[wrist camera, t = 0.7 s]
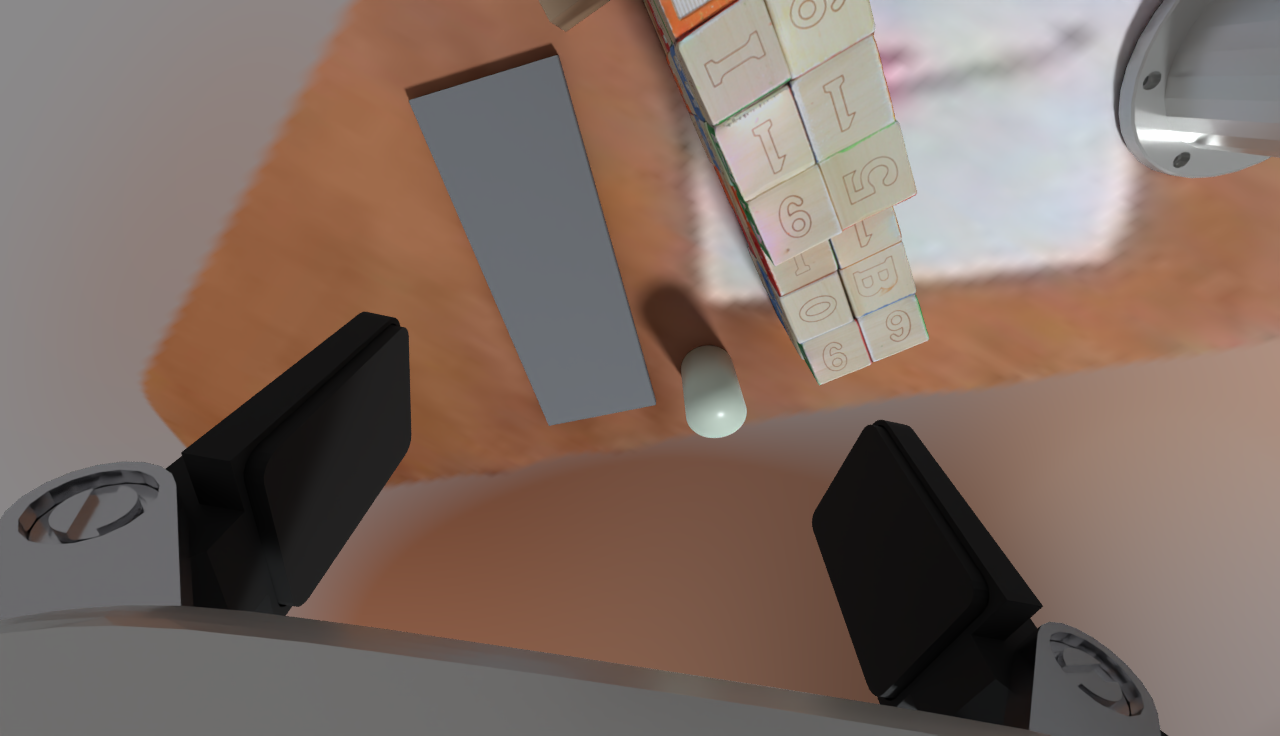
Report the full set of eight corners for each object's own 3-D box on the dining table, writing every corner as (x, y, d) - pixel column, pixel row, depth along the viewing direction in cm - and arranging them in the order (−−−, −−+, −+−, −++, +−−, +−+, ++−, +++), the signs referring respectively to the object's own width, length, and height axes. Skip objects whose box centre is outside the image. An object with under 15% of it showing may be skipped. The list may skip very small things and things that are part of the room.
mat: (558, 55, 27) (557, 55, 26) (655, 400, 39) (655, 404, 38) (412, 100, 28) (408, 100, 27) (550, 421, 40) (549, 425, 39)
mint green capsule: (728, 340, 36) (742, 383, 31) (736, 384, 38) (750, 432, 33) (676, 351, 36) (680, 395, 31) (686, 394, 38) (692, 442, 33)
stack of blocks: (863, 281, 33) (963, 372, 23) (777, 319, 35) (833, 421, 24) (748, -80, 24) (826, -210, 13) (637, -5, 25) (629, -67, 15)
